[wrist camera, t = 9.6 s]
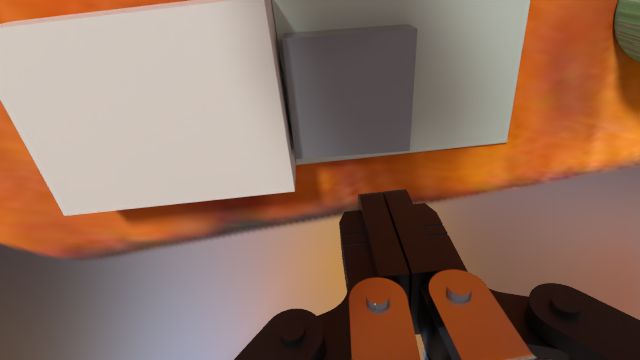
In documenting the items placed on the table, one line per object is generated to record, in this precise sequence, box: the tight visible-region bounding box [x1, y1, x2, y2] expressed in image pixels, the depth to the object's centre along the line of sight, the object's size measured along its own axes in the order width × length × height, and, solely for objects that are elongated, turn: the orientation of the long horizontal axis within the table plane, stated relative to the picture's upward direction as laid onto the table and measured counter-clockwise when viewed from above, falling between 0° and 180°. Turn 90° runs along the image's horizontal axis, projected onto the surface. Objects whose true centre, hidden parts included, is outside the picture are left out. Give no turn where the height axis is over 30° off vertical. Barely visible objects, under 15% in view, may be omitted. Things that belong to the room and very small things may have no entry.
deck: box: [0, 0, 296, 216], centre depth 24 cm, size 16×12×4 cm
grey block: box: [282, 24, 418, 159], centre depth 25 cm, size 8×8×2 cm
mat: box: [272, 0, 530, 165], centre depth 26 cm, size 16×12×1 cm
